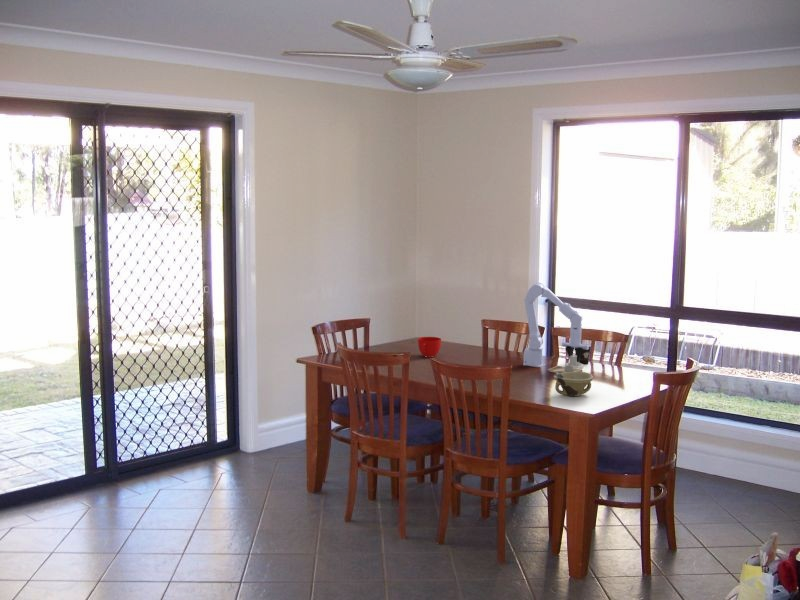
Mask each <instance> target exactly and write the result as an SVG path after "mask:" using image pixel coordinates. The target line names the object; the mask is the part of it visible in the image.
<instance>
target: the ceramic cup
mask: <svg viewBox="0 0 800 600" xmlns="http://www.w3.org/2000/svg"><path fill="white" fill-rule="evenodd" d="M441 343H442V338H440V337H436V336H422V337H419V338H417V344H418V345H417V346H418V350H419V353H421V355H422V356H423V357H424V356H427V357H426V358H429V356H430V358H432V357H431V356H435V355H436V356H437V355H438V354H439V352H440V350H441ZM436 356H435V357H436Z"/></svg>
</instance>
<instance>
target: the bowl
mask: <svg viewBox="0 0 800 600" xmlns="http://www.w3.org/2000/svg"><path fill="white" fill-rule="evenodd" d="M593 378H594V376H593V374H591V373H590V372H585V371H582V372H565V373H556V374H554V375H553V379H554V380H555V381H556V382H555V385H554V387H555V391H556V392H557V393H559V394H560V395H562V396H564V395H565V396H566V397H579V396H581V395H584V394H587V393H588V392H589V391H590V390H591V388H592V383H591V382H592V381H593ZM560 387H561V389H562V390H560Z"/></svg>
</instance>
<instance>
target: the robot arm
mask: <svg viewBox="0 0 800 600" xmlns="http://www.w3.org/2000/svg"><path fill="white" fill-rule="evenodd" d="M540 296H541V298H547V300H550V301H551V302H552V303H553V304H554V305H555V306H557V307H558V311H559V312H560V313H561V314H562V315H564V316H565V318H567V319H568V320H569V322H570V330H569V331H570V332H569V333H570V334H569V342H563V341H562V342H561V347H565V350H566V352H567V356H568V358H569V360H570V356H572V355H574V352H575V350H574V349H575V348H578V349H576V351H577V362H580V359H581V356H582V354H583V352H584V350H585V349H586V350H588V349H589V346H588V345H589V344H588V345H584V344H585V343H582V330H583V328H582V326H583V325H582V322H583V315H582V314H581V312H579V311H578V310H577V309H575V308H573V307H572V305H571V303H568V302H563V301H562V300H561V299H560V298H558V296H557V295H556V294H555V293H554V292H553V291H551V289H549V288H548V287H547V286H546V285H544V284H543V283H541V282H536V283H535V284H533V285H532V286H530V287H529V289H528V290H527V293H526V296H525V298H524V304H525V305H524V306H525V307H524V308H525V312H526V318H527V324H528V325H527V326H528V331H529V336H528V337H529V341H528V346H529V347H526V348H525V349H524V352H523V364H522V365H523V366H527V367H528V366H529V367H536V368H540V367H543V366H545V365H546V364H545V363H543V347H542V345H543V343H544V340H543V338H542V336H541V332H540V330H539V324H538V318H537V311H536V305H535V301H536V300H537V299H538V298H539V297H540Z"/></svg>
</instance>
